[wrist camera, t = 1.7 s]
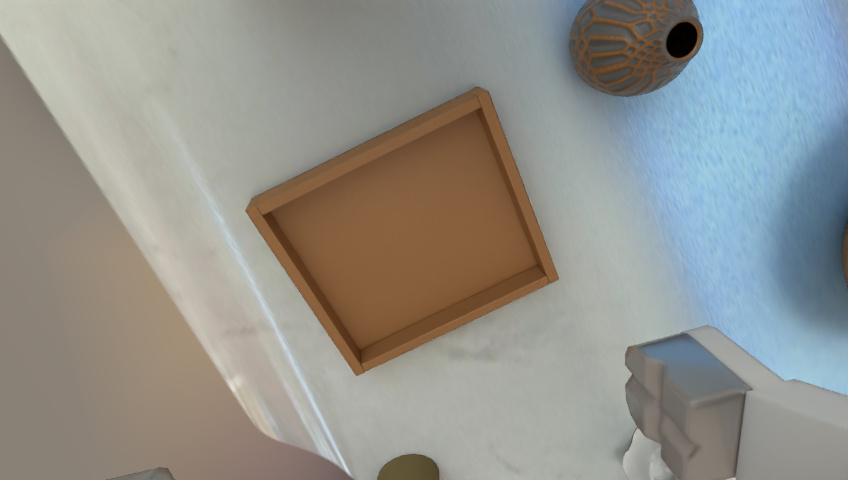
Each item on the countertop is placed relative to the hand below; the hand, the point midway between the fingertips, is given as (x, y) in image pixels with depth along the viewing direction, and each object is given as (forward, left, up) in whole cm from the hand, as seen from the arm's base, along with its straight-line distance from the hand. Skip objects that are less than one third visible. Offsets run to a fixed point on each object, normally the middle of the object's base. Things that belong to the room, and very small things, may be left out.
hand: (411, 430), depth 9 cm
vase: (-18, +2, -28) cm, 33 cm away
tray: (0, +9, -28) cm, 29 cm away
